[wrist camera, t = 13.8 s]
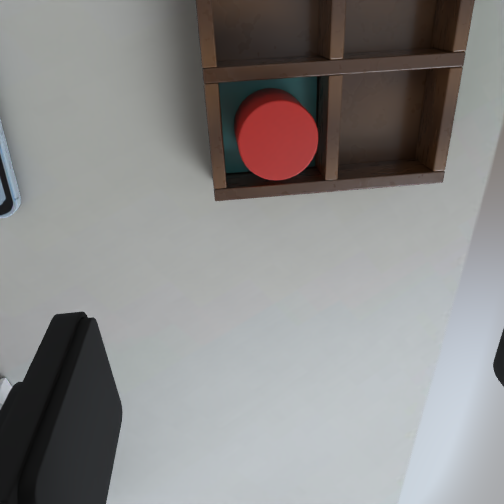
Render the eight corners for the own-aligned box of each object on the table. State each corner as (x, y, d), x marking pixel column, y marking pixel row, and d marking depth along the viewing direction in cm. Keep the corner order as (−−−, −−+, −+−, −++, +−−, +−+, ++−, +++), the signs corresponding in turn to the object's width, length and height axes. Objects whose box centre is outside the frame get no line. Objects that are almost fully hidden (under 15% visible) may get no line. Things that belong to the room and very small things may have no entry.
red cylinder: (231, 90, 24) (235, 102, 21) (305, 85, 24) (319, 97, 21) (236, 162, 26) (240, 184, 23) (304, 157, 26) (317, 178, 23)
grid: (189, -82, 20) (186, -95, 18) (457, -93, 21) (494, -107, 19) (214, 181, 27) (215, 201, 24) (419, 165, 28) (443, 182, 25)
